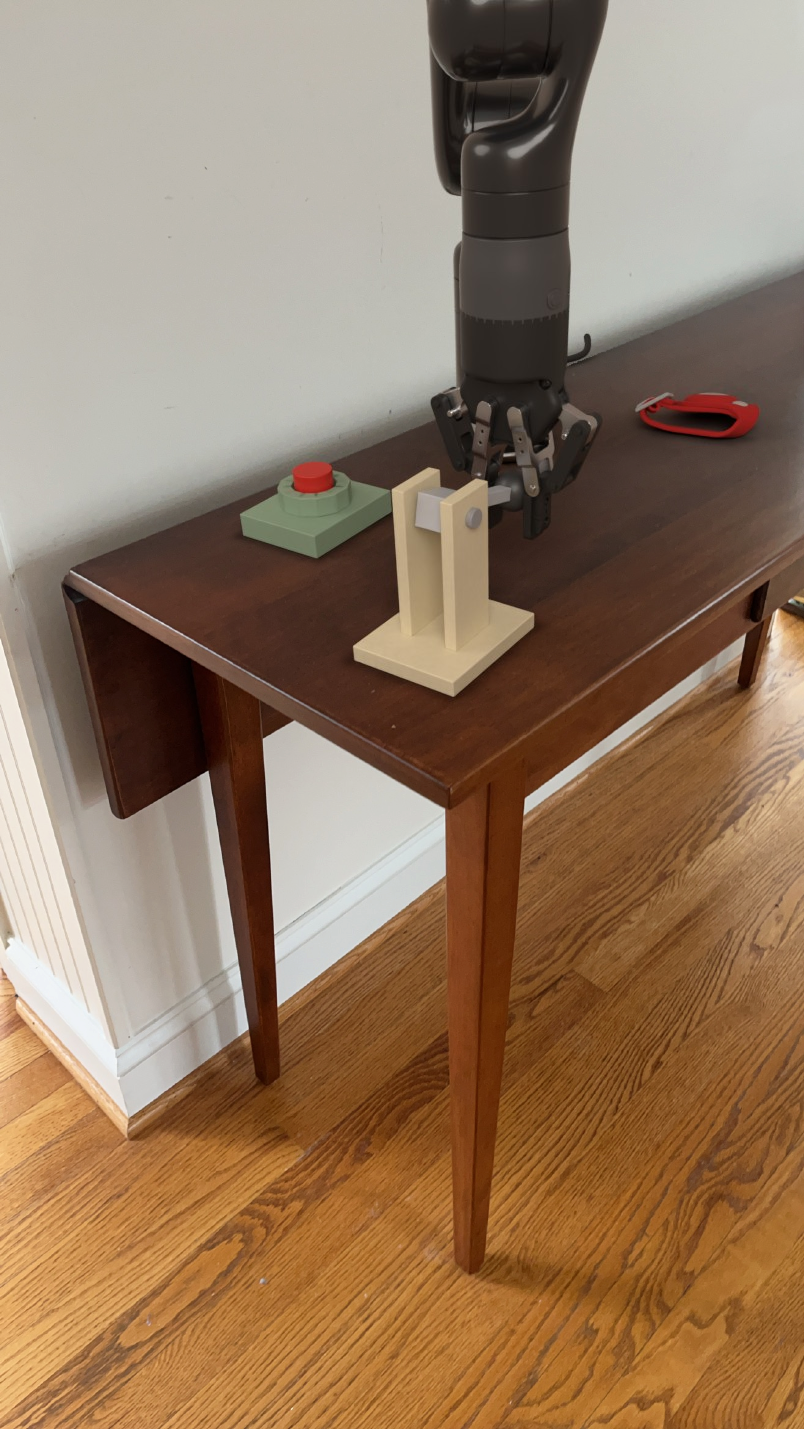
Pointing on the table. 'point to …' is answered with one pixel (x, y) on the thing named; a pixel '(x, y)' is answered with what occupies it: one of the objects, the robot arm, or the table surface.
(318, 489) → the stop button
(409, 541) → the lever bracket
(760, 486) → the table surface
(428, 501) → the press lever
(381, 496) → the button block
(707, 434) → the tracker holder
